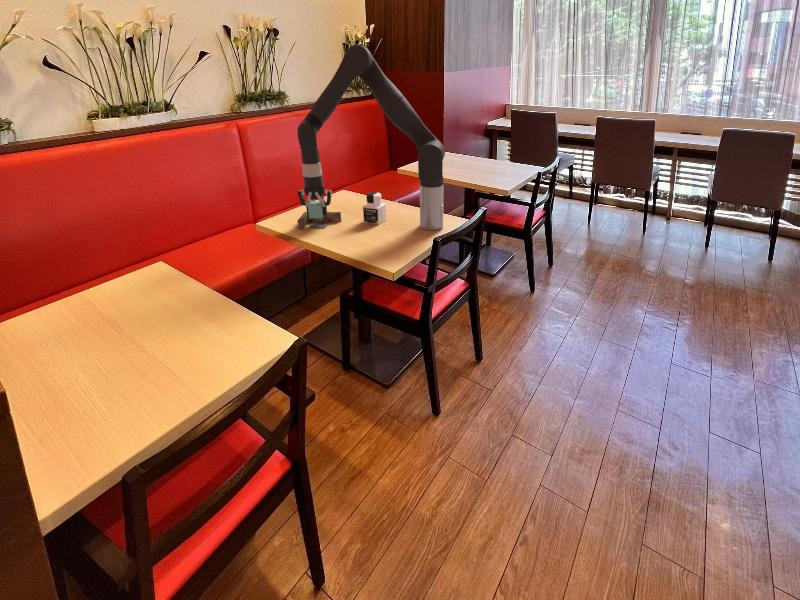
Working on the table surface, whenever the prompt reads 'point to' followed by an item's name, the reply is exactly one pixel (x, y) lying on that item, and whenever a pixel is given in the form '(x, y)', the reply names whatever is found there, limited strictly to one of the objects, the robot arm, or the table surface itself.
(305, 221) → the arena
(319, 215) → the block
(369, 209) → the medicine bottle
